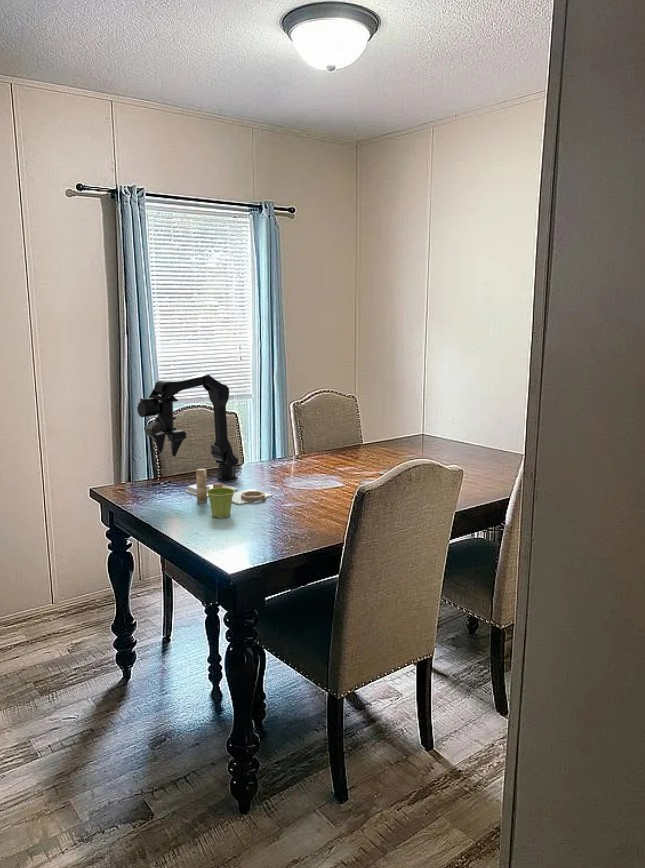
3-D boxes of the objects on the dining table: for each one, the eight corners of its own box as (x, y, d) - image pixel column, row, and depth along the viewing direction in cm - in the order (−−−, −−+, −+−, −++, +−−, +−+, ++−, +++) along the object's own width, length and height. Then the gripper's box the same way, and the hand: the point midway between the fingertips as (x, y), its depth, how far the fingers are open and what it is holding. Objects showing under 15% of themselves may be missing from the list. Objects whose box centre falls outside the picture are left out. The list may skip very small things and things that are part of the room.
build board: (252, 490, 262) (252, 484, 262) (276, 497, 252) (276, 492, 252) (219, 498, 251) (219, 492, 250) (243, 506, 241) (243, 500, 241)
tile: (218, 484, 270) (218, 475, 270) (237, 490, 262) (237, 481, 261) (185, 491, 259) (185, 482, 258) (204, 498, 251) (203, 488, 250)
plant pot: (231, 510, 237) (230, 486, 235) (237, 518, 228) (237, 493, 226) (204, 512, 233) (204, 488, 232) (210, 521, 225) (209, 496, 223)
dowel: (203, 499, 249) (202, 468, 247) (209, 501, 247) (208, 469, 244) (195, 501, 247) (194, 469, 244) (201, 503, 244) (200, 471, 242)
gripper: (133, 413, 254) (135, 453, 257) (160, 419, 241) (162, 462, 244) (159, 410, 262) (160, 449, 265) (186, 416, 249) (188, 457, 252)
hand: (167, 454), depth 257 cm, fingers open, 9 cm apart
